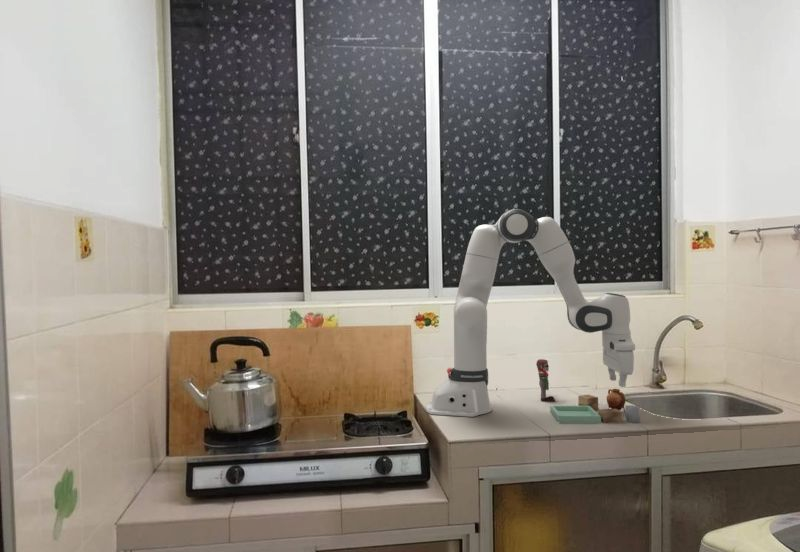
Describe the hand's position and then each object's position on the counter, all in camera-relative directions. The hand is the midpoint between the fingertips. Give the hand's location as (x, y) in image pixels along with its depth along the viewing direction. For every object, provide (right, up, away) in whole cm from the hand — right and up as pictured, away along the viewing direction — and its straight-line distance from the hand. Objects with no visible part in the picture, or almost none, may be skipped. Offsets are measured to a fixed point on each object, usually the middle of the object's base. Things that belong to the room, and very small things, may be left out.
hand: (617, 383), depth 180 cm
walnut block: (-6, -10, -9) cm, 15 cm away
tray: (-16, -10, -5) cm, 19 cm away
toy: (-19, -10, +18) cm, 28 cm away
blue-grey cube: (+1, -10, -10) cm, 14 cm away
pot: (0, -10, 0) cm, 10 cm away
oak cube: (-8, -10, +5) cm, 14 cm away
